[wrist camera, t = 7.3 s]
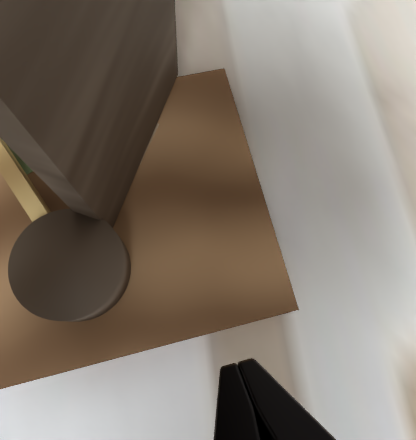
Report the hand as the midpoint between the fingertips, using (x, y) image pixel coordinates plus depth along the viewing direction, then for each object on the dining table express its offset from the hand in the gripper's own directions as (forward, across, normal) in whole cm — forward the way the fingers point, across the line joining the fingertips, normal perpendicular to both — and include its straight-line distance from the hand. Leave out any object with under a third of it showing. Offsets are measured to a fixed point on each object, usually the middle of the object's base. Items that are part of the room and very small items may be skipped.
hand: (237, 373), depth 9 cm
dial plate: (+11, +3, +1) cm, 12 cm away
